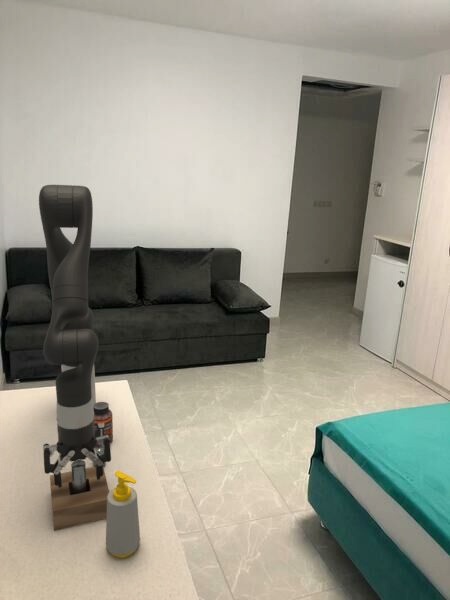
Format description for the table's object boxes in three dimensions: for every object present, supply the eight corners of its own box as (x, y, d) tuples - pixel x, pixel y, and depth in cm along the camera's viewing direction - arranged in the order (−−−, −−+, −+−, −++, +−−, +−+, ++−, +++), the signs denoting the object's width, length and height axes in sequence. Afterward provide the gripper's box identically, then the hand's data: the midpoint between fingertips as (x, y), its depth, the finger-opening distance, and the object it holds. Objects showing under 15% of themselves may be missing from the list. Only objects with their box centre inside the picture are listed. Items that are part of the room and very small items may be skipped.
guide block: (51, 493, 114) (49, 475, 112) (103, 482, 118) (102, 465, 116) (54, 530, 103) (52, 511, 102) (111, 517, 108) (110, 498, 106)
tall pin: (72, 501, 111) (70, 461, 108) (86, 499, 112) (84, 458, 109) (74, 511, 109) (71, 469, 105) (88, 507, 110) (86, 467, 106)
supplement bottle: (107, 449, 130) (106, 412, 127) (86, 445, 131) (85, 409, 128) (116, 436, 136) (115, 401, 132) (96, 433, 137) (95, 398, 133)
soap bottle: (124, 566, 95) (122, 491, 90) (98, 550, 99) (95, 476, 93) (147, 543, 101) (147, 471, 95) (122, 529, 104) (120, 458, 99)
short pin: (92, 462, 125) (92, 446, 123) (104, 460, 126) (104, 443, 124) (94, 469, 122) (93, 452, 121) (106, 467, 123) (105, 450, 122)
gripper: (107, 403, 109) (109, 464, 114) (39, 413, 104) (44, 477, 109) (112, 421, 103) (114, 485, 108) (40, 433, 98) (45, 499, 103)
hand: (79, 481), depth 109 cm, fingers open, 8 cm apart
